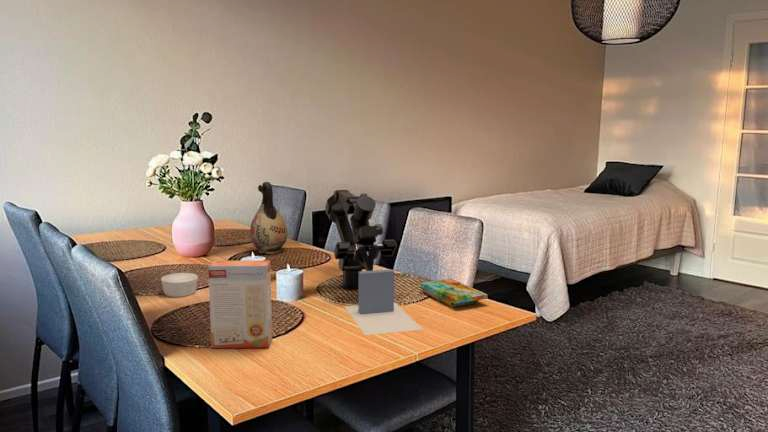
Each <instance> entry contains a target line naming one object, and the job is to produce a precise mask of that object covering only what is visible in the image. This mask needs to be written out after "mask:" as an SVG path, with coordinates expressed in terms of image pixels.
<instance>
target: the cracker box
mask: <svg viewBox="0 0 768 432" xmlns="http://www.w3.org/2000/svg"><path fill="white" fill-rule="evenodd" d="M207 269H208V292H209V293H208V295H209V296H208V297H209V298H208V299H209V318H210V319H209V321H210V342H211V343H210V344H211V348H212V349H249V348H250V349H253V348H254V349H258V348H260V349H268V348H269V347H270V345H271V343H272V341H273V320H272V319H273V317H272V316H273V313H272V309H273V308H272V280H271V279H272V278H271V277H272V275H271V260H214V261H212V262H211V263H210V264H209V265H208V268H207Z"/></svg>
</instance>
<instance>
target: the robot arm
mask: <svg viewBox="0 0 768 432" xmlns="http://www.w3.org/2000/svg"><path fill="white" fill-rule="evenodd" d="M376 206H377V205H376V201H375V200H374V199H373V198H372V197H371V196H368V193H360V195H359V196H358V195H357V196H356V195H354V194H353V193H351V192H350V190H348V189H336V190H334V192H333V194H332V195H331V196H329V198H327V199H326V204H325V207H324V209H325V214H326V215H327V217H328V220H329V221H331V222H332V223H335V226H336V230H337V232H338V235H339V238H340V242H339V241H338V242H337V243H336V245H335V248H334V251H333V254H334V259H335V260H338V262H337V263H338V269H339V270H340V271H341V272H342V274H343V275H342V283H341V284H339V285H338V286H339V287H341V288H343V289H345V290H349V291H354V290H358V288H359V272H360V271H374V264H375V260H376V259H377V258H378V256H379V254H380V255H381V256H382V257H384V258H385V257H392V256H395V253H396V250H397V249H398V244H397V241H396V240H395V239H383V240H382V242H381V244H375V243H376V241H377V237H378V236H382V235H383V233H384V229H383V225H382V223H375V224H374V225H371V224H370V221H369V220H371V219H372V217H373V213H374V211H375V208H376ZM349 215H350V218H349Z"/></svg>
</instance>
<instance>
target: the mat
mask: <svg viewBox="0 0 768 432" xmlns="http://www.w3.org/2000/svg"><path fill="white" fill-rule="evenodd" d="M343 308H344V309H345V310H346V311H347V313H348V314H349V315H350V317H351V319H352V320H353V321H354V322H355V324H356V325H357V327H359V329H360V331H361V332H362V333H363V334H364V335H365V336H371V335H380V334H381V335H382V334H389V333H390V334H391V333H401V332H403V333H404V332H411V331H413V332H414V331H421V330H424V328H422V327H421V326H420V325H419V324H418V323H417V322H416V321H415V320H414V319H413V317H411V316H410V315H409V314H408V313H407V312H406V311H405V310H403V308H402V307H401V306H399V304H397V302H396V301H394V311H393V312H382V313H371V314H360V313H359V312H358V304H357V305H356V304H354V305H345V306H343Z"/></svg>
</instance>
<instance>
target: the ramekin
mask: <svg viewBox="0 0 768 432" xmlns="http://www.w3.org/2000/svg"><path fill="white" fill-rule="evenodd" d="M198 280H199V276H198V275H197V274H196V273H193V272H177V273H176V272H175V273H170V274H166V275H163V276H162V277H161V278H160V282H161V286H162V290H163V294H164V295H165V296H167V297H171V298H182V297H188V296H189V297H190V296H191V295H193V294H195V293H196V291H197V287H198V286H197V285H198Z"/></svg>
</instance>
